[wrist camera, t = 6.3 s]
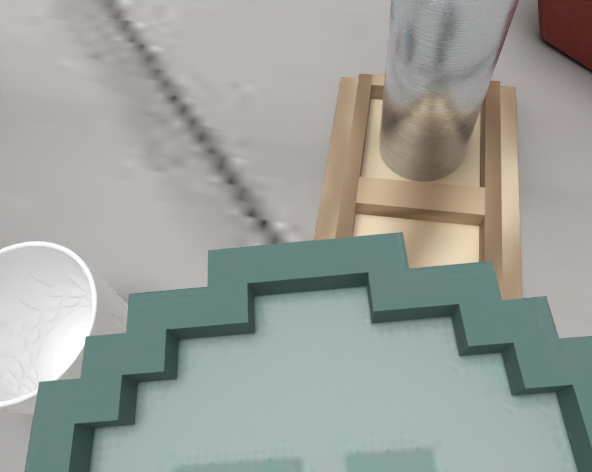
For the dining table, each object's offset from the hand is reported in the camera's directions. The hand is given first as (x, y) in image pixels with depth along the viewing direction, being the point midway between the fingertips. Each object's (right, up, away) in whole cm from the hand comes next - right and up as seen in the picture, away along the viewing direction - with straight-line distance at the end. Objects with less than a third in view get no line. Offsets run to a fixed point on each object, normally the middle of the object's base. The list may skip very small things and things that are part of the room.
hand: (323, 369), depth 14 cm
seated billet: (+8, +10, +21) cm, 25 cm away
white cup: (-13, -5, +18) cm, 23 cm away
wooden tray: (+7, +5, +20) cm, 22 cm away
